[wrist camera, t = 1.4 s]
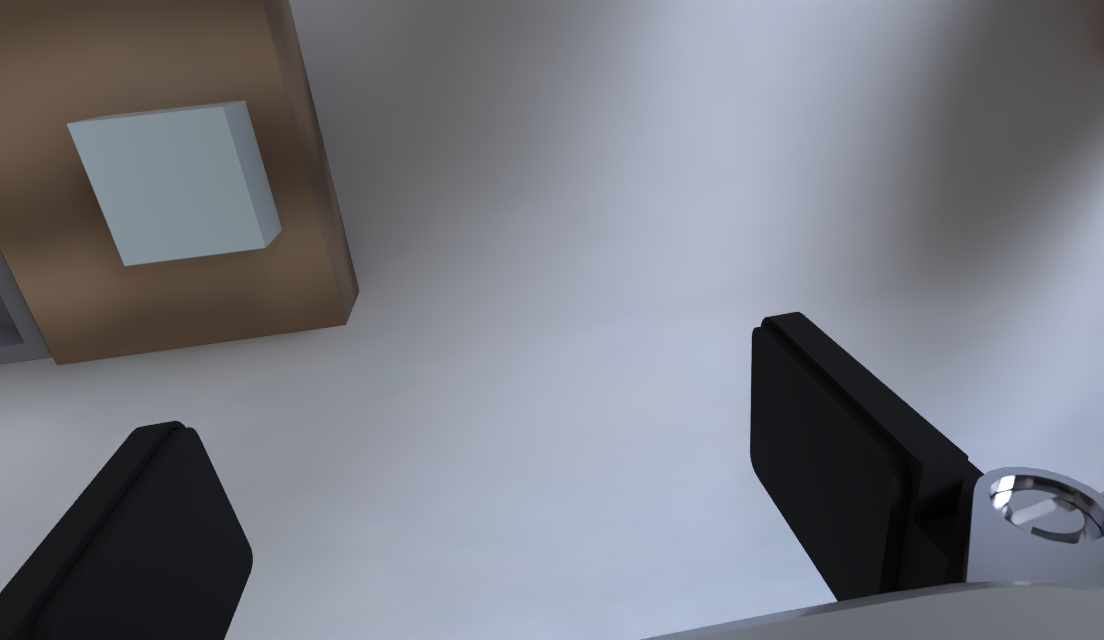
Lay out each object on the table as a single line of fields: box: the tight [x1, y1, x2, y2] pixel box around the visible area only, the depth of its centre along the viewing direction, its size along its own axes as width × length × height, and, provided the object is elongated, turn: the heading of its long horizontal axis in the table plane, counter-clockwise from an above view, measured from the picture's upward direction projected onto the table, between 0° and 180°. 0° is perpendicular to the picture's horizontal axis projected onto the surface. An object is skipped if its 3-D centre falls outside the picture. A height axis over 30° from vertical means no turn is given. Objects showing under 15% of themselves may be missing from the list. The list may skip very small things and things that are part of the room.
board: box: [0, 0, 359, 365], centre depth 26 cm, size 14×12×4 cm
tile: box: [67, 100, 282, 266], centre depth 23 cm, size 5×5×2 cm
